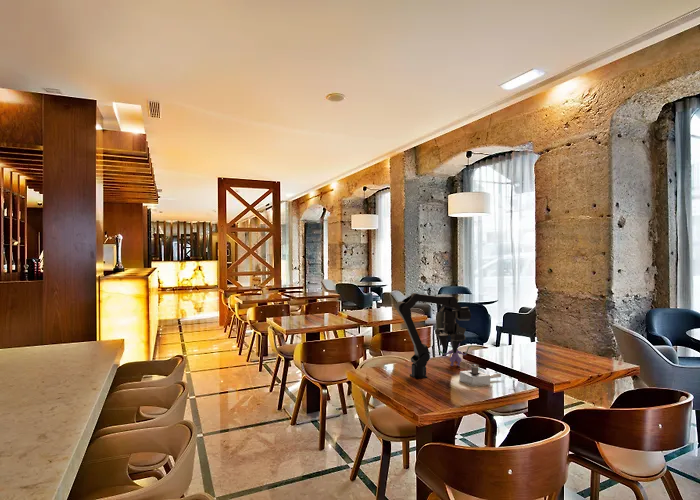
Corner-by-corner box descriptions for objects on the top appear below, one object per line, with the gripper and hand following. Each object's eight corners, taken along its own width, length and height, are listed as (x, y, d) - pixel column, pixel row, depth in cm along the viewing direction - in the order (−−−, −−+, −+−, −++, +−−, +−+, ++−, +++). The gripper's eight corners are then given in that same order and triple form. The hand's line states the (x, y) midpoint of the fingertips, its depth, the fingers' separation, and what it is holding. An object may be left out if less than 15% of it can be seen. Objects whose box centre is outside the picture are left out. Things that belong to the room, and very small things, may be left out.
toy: (470, 365, 224) (471, 338, 224) (472, 367, 218) (473, 340, 218) (437, 364, 225) (437, 337, 226) (438, 366, 220) (438, 339, 220)
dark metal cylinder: (473, 382, 189) (474, 366, 190) (469, 380, 192) (469, 364, 193) (479, 382, 190) (479, 365, 191) (475, 380, 194) (475, 363, 194)
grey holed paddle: (472, 386, 185) (472, 377, 185) (459, 380, 194) (459, 371, 195) (507, 382, 192) (507, 373, 192) (493, 377, 201) (493, 368, 201)
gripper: (474, 322, 197) (474, 354, 197) (452, 317, 215) (452, 346, 215) (455, 323, 194) (454, 355, 193) (434, 318, 211) (434, 347, 211)
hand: (449, 351), depth 203 cm, fingers open, 9 cm apart
